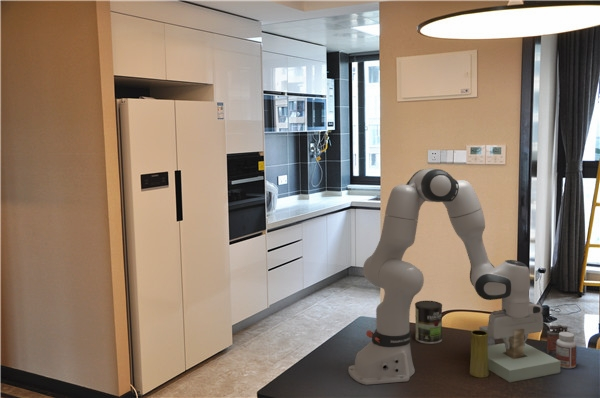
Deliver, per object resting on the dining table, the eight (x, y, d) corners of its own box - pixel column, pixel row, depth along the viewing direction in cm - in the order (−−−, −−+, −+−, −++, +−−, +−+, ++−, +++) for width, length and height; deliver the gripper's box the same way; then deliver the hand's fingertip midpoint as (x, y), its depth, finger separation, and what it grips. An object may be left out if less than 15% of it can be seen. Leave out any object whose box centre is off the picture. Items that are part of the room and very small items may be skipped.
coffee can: (447, 341, 217) (447, 305, 215) (425, 345, 213) (425, 309, 212) (431, 332, 227) (431, 298, 225) (410, 337, 223) (409, 302, 221)
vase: (465, 372, 189) (465, 331, 187) (480, 368, 191) (480, 328, 190) (478, 379, 183) (478, 337, 182) (492, 375, 186) (493, 333, 184)
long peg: (513, 364, 190) (514, 330, 189) (505, 360, 194) (506, 326, 192) (523, 363, 192) (524, 329, 190) (515, 358, 195) (516, 325, 194)
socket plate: (509, 382, 180) (509, 370, 180) (472, 359, 199) (472, 348, 199) (560, 372, 186) (560, 361, 186) (519, 351, 205) (519, 340, 205)
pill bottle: (570, 361, 195) (571, 330, 194) (579, 368, 189) (580, 336, 188) (552, 362, 195) (553, 331, 194) (561, 369, 189) (562, 337, 187)
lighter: (568, 350, 204) (569, 323, 203) (572, 354, 201) (572, 327, 200) (545, 350, 205) (545, 323, 204) (548, 353, 202) (549, 327, 201)
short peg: (485, 345, 211) (485, 330, 211) (479, 342, 215) (479, 327, 214) (494, 344, 213) (494, 328, 212) (488, 340, 216) (488, 325, 216)
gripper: (495, 314, 184) (494, 355, 186) (546, 307, 190) (545, 346, 192) (483, 309, 190) (483, 348, 192) (533, 301, 196) (532, 340, 198)
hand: (514, 347), depth 192 cm, fingers closed on long peg, 4 cm apart
